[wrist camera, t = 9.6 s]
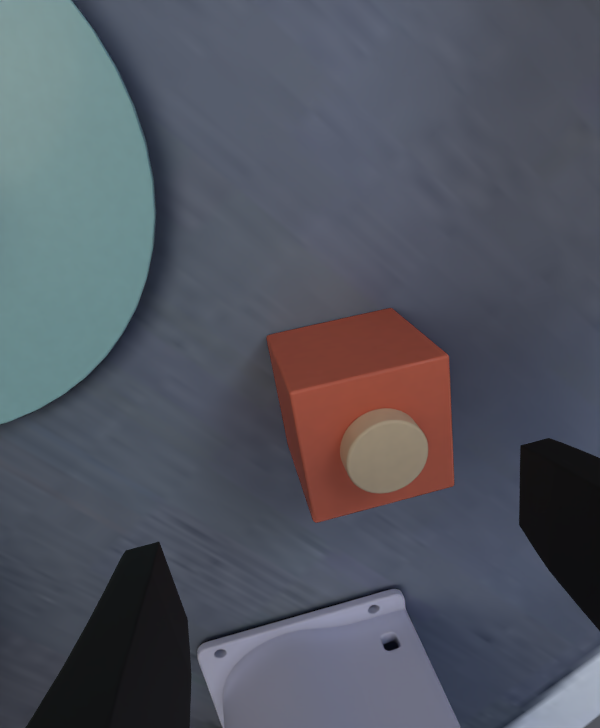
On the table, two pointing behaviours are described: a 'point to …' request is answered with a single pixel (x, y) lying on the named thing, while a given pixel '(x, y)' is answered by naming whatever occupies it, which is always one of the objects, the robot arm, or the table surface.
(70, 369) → the lid
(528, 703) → the table surface
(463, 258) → the table surface
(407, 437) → the toy block
